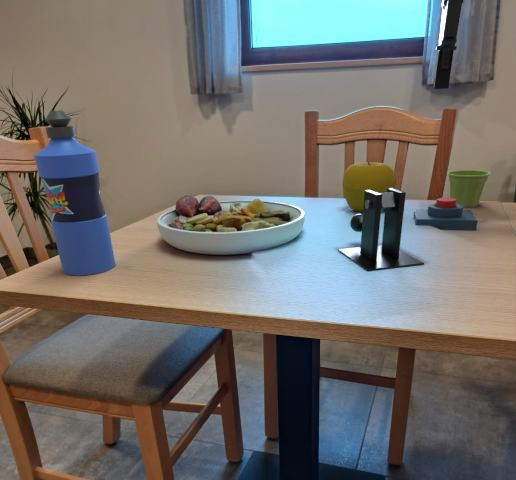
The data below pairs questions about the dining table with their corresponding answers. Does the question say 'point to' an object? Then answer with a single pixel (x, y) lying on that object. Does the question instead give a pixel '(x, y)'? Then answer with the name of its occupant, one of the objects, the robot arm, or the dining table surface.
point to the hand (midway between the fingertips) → (440, 88)
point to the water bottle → (74, 200)
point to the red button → (446, 203)
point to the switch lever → (385, 207)
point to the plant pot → (467, 186)
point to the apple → (366, 182)
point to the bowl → (229, 225)
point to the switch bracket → (389, 251)
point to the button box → (446, 218)
